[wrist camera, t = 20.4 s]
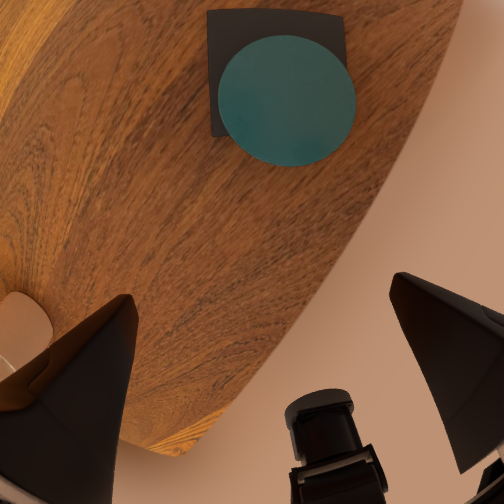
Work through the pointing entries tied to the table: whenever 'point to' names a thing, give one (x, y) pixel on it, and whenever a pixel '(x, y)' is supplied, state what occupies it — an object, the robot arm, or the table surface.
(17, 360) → the jar
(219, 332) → the table surface
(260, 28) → the mat
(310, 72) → the jar lid
